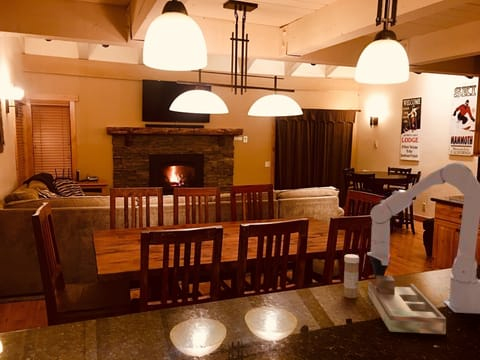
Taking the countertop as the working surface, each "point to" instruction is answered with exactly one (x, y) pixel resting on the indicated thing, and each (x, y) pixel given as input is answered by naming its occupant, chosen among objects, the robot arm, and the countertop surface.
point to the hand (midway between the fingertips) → (379, 280)
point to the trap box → (408, 311)
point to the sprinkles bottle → (351, 276)
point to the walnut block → (385, 285)
